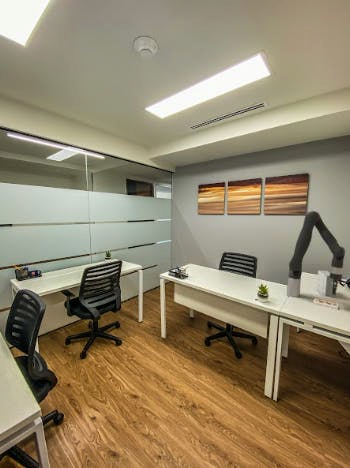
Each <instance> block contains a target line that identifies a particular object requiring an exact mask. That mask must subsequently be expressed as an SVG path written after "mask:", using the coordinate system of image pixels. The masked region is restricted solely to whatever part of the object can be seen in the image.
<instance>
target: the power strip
mask: <svg viewBox="0 0 350 468" xmlns="http://www.w3.org/2000/svg"><path fill="white" fill-rule="evenodd" d="M316 299H317V298H314V299H313V301H310V300H309V301H308V302H309V303H312V304H313V305H316V306H320V307H324V308H329V309H334V310H337V311H338V309H339V304H338V303H337V302H335V303H336V306H334V305H331V302H332V301H328V304H325V303H323V300H324V299H323V300H322V299H320V300H321V303H320V302H316Z"/></svg>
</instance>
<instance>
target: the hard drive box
mask: <svg viewBox="0 0 350 468" xmlns="http://www.w3.org/2000/svg"><path fill="white" fill-rule="evenodd" d="M332 280H333V279H332V278H330V271H328V270H318V271H317V282H316V283H317V285H316V291H317V293H318V294H320V295H321V296H323V297H328V298H332V299H335V298H336V295H333V294H332V288H333V287H332Z"/></svg>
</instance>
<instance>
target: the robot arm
mask: <svg viewBox="0 0 350 468" xmlns="http://www.w3.org/2000/svg"><path fill="white" fill-rule="evenodd" d="M314 227H315V228H316V230H317V232H318V233H319V235H320V237H321V238H322V240H323V241H324V243H325V244H326V245H327V246H328V249H329V251H330V252H331V254H332V260H331V264H330V268H329V269H330V270H329V272H330V278H332V279H333V280H332V287H333V288H332V294H333V295H335V296H336V294H337V290H338V289H337V288H338V286H339V281H341V280H342V279H343V275H344V274H343V272H344V269H343V267H344V259H345V255H346V249H345V248H344V247H343V246H340V244H339V243H338V240H337V238H336V237H335V236H334V235H333V234H332V232H331V231H330V230H329V228H328V227H327V225H326V224H325V223H324V221H323V219H322V217H321V214H320V213H319V212H318V211H315V210H310V211H308V212H306V214H305V216H304V220H303V225H302V227H301V230H300V233H299V235H298V238H297V241H296V243H295V246H294V251H293V252H294V253H293V255H292V257H291V260H290V261H289V262H288V267H289V268H288V269H289V271H288V279H287V280H288V282H287V284H286V296H287V297H288V298H291V297H292V298H300V296H301V282H302V271H303V261H304V257H305V254H306V253H307V251H308V249H309V246H310V245H311V242H312V238H313V230H314Z"/></svg>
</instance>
